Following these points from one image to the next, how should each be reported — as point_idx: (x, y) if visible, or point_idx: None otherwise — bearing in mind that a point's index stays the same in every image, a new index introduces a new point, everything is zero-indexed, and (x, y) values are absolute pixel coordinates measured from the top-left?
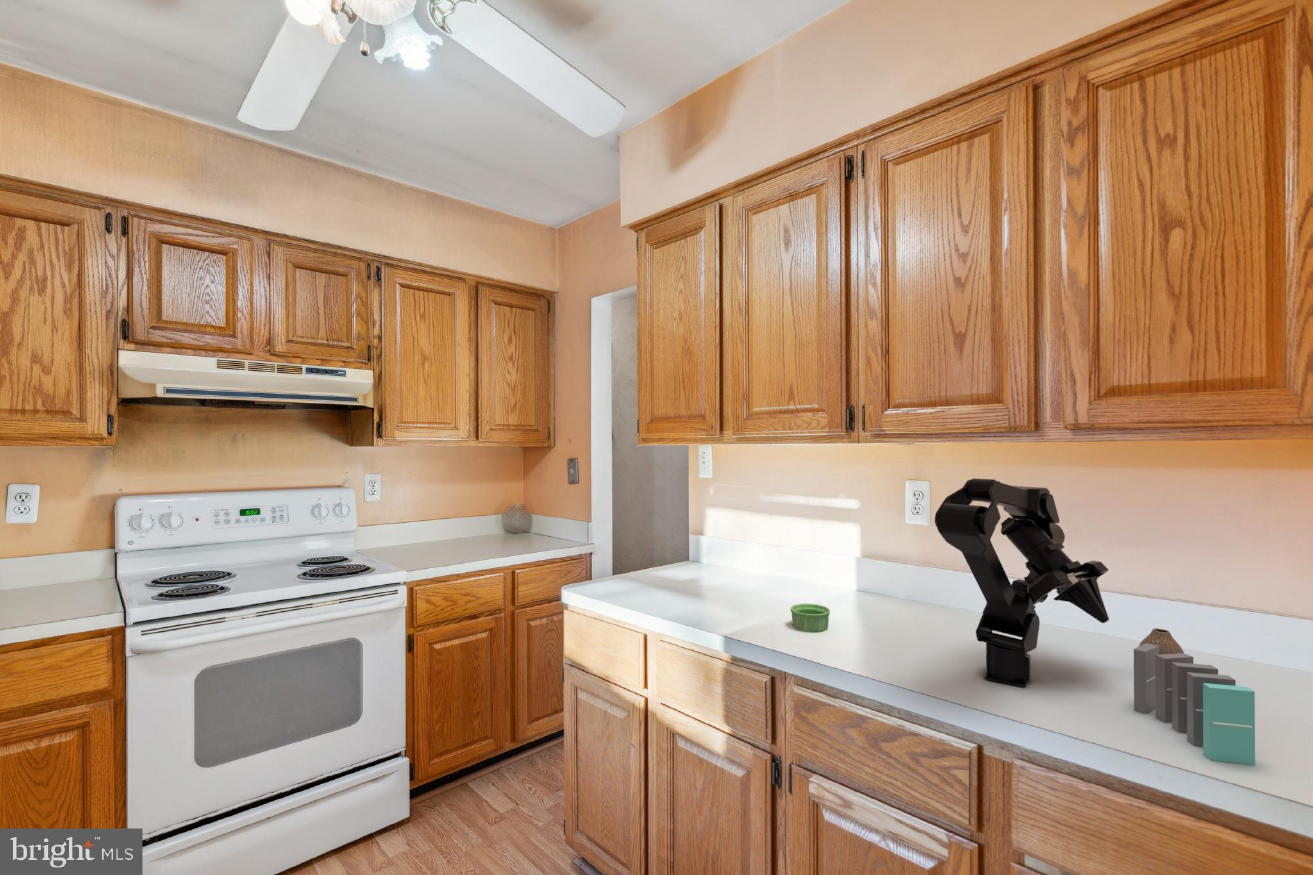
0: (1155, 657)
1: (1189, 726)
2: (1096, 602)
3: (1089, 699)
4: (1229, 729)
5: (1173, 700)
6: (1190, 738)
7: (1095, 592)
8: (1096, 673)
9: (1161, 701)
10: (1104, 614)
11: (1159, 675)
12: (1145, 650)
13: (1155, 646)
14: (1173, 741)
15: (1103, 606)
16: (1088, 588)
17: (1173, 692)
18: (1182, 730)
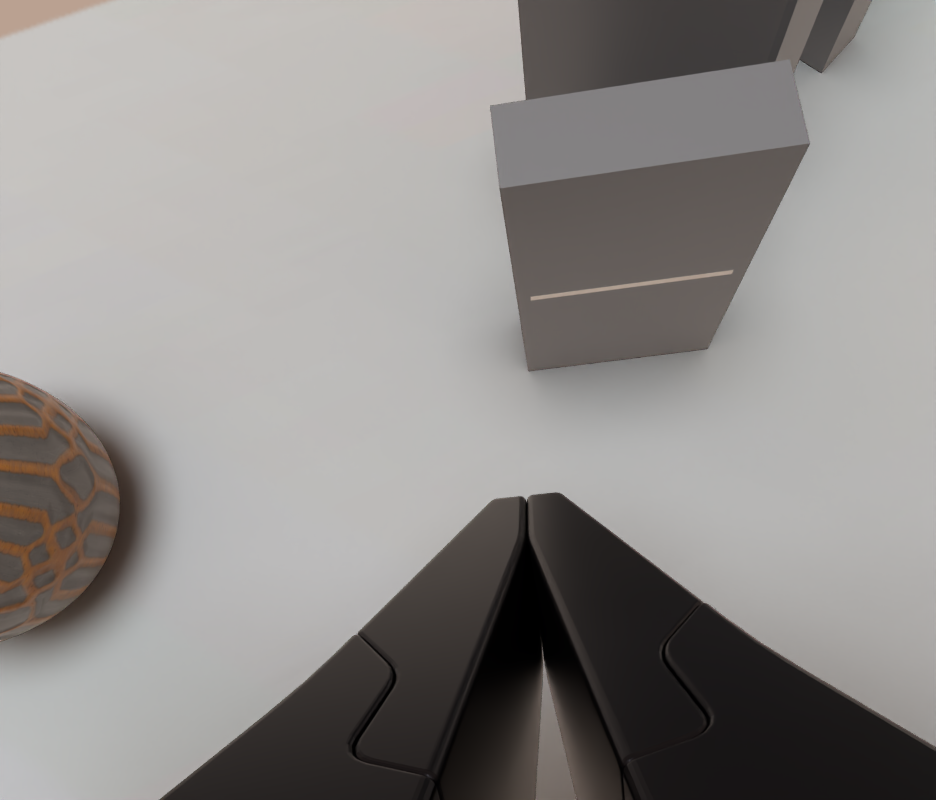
0: (785, 5)
1: (861, 1)
2: (659, 595)
3: (802, 553)
4: None
5: (781, 59)
6: (846, 38)
7: (456, 737)
8: None
9: None
10: (568, 512)
11: None
12: (744, 82)
13: (534, 106)
14: (901, 88)
15: (463, 568)
16: (855, 793)
17: (794, 24)
18: None
